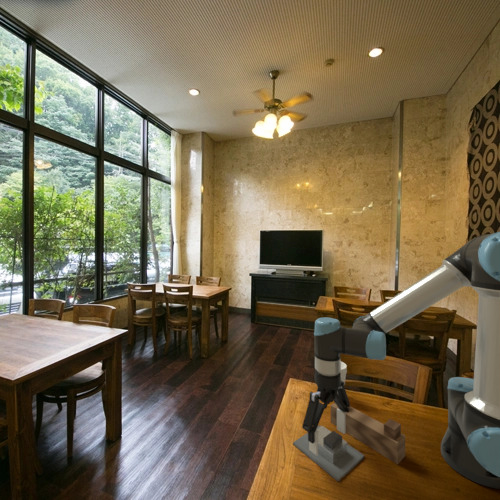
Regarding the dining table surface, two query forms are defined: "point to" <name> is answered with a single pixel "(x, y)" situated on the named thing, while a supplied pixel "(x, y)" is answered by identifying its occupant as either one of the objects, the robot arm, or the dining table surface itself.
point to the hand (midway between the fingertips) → (328, 441)
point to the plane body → (374, 433)
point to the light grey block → (330, 445)
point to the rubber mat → (334, 469)
